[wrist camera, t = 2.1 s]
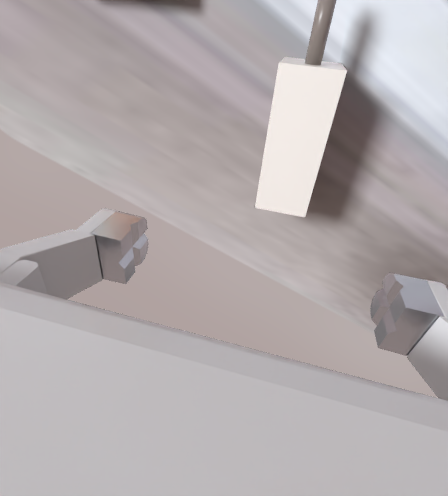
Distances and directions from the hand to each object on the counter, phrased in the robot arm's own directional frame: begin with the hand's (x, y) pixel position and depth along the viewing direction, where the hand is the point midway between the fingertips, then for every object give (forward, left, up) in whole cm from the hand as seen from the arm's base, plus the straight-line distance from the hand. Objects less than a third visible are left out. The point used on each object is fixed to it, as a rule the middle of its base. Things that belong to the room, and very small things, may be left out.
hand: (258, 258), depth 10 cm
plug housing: (-1, -2, -18) cm, 18 cm away
